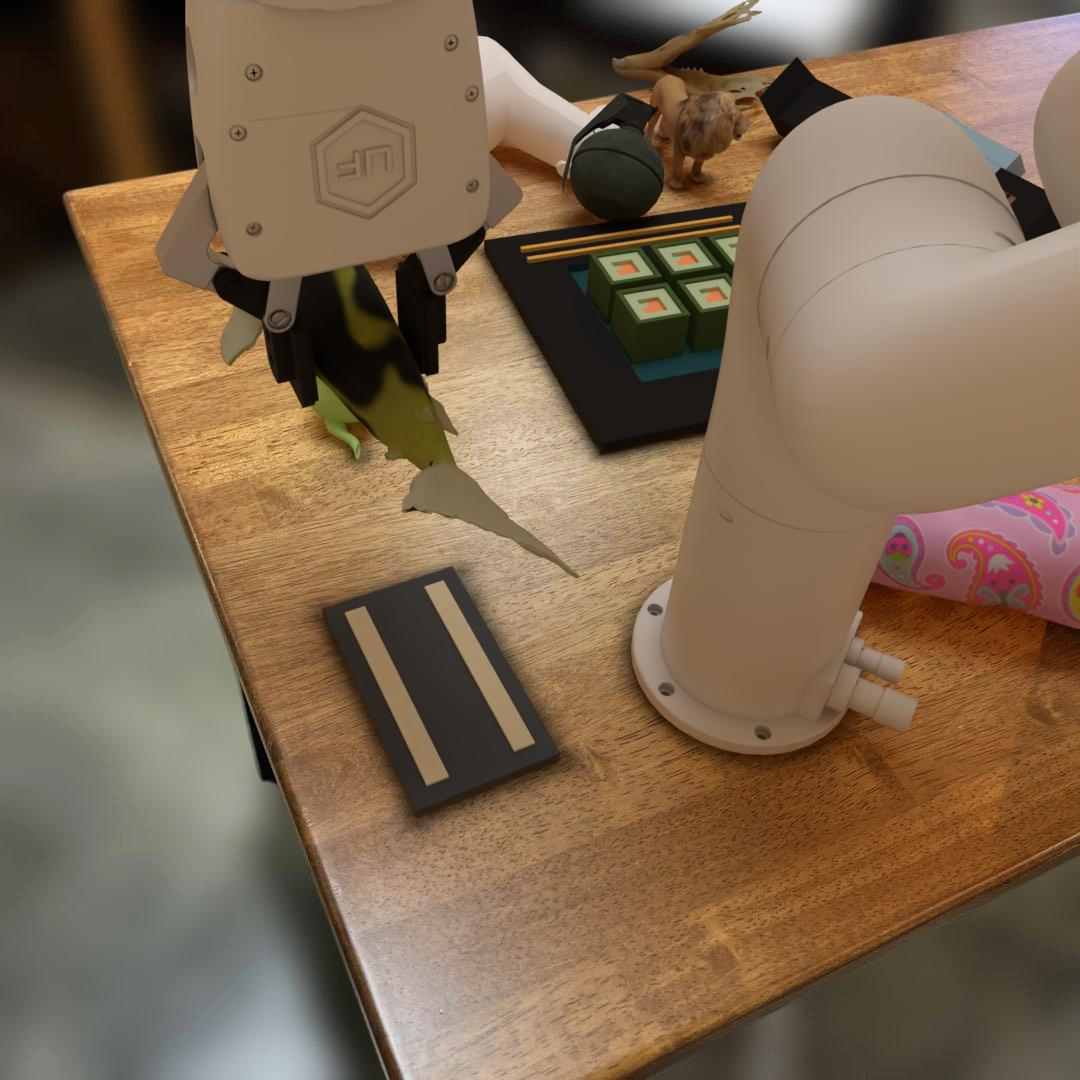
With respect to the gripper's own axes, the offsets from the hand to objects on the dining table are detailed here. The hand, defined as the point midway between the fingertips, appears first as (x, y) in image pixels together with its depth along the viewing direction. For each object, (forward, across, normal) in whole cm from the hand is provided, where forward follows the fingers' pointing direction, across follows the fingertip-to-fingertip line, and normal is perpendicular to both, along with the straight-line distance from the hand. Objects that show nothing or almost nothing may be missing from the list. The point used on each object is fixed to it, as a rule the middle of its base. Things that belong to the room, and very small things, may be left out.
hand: (360, 368), depth 48 cm
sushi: (+19, +32, +20) cm, 42 cm away
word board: (+19, +2, -4) cm, 20 cm away
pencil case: (+18, +31, -12) cm, 38 cm away
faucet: (+14, +34, +48) cm, 60 cm away
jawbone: (+15, +49, +52) cm, 73 cm away
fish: (-4, -4, -2) cm, 6 cm away
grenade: (+16, +30, +32) cm, 47 cm away
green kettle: (+19, +5, +18) cm, 27 cm away
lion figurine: (+19, +43, +40) cm, 62 cm away
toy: (+16, +56, +42) cm, 72 cm away
